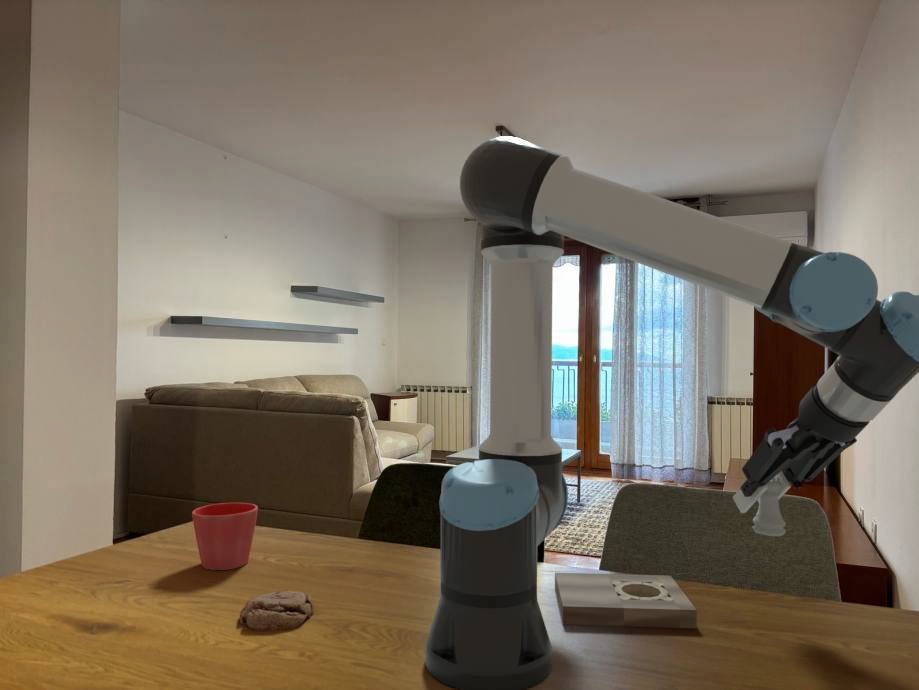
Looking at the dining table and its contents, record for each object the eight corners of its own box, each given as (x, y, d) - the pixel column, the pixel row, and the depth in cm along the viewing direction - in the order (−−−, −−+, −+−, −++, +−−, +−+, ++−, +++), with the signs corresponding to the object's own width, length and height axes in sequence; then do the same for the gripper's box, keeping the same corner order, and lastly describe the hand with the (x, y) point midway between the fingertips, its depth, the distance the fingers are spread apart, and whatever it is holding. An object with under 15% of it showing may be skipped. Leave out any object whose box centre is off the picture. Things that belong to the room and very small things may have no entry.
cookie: (328, 608, 97) (328, 588, 97) (286, 638, 87) (286, 615, 87) (270, 600, 100) (270, 580, 100) (223, 627, 90) (224, 605, 90)
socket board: (696, 628, 90) (696, 610, 90) (562, 624, 91) (563, 606, 91) (670, 591, 104) (670, 575, 104) (554, 588, 105) (554, 572, 105)
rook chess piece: (779, 528, 98) (779, 474, 98) (791, 537, 93) (791, 480, 93) (747, 527, 98) (747, 473, 98) (758, 536, 94) (758, 479, 94)
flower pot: (194, 557, 120) (194, 503, 120) (257, 552, 124) (257, 500, 124) (188, 576, 110) (189, 517, 110) (257, 570, 113) (258, 513, 114)
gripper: (875, 379, 88) (781, 480, 104) (774, 379, 84) (692, 485, 100) (912, 423, 83) (808, 523, 99) (806, 426, 79) (714, 530, 94)
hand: (750, 504), depth 99 cm, fingers closed on rook chess piece, 3 cm apart
